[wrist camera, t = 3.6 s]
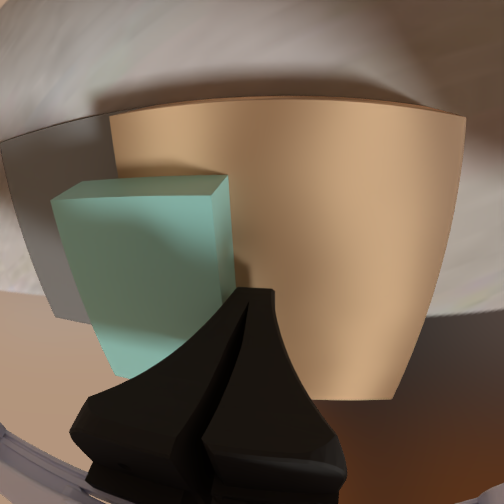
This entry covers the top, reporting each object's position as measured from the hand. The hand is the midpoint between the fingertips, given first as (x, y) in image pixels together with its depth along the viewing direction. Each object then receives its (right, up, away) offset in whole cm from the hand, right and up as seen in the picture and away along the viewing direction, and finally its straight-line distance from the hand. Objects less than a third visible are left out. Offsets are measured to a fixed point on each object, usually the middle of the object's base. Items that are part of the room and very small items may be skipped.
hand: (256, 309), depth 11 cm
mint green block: (-4, +1, +1) cm, 4 cm away
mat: (-10, +3, +6) cm, 12 cm away
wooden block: (+2, +3, +4) cm, 5 cm away
